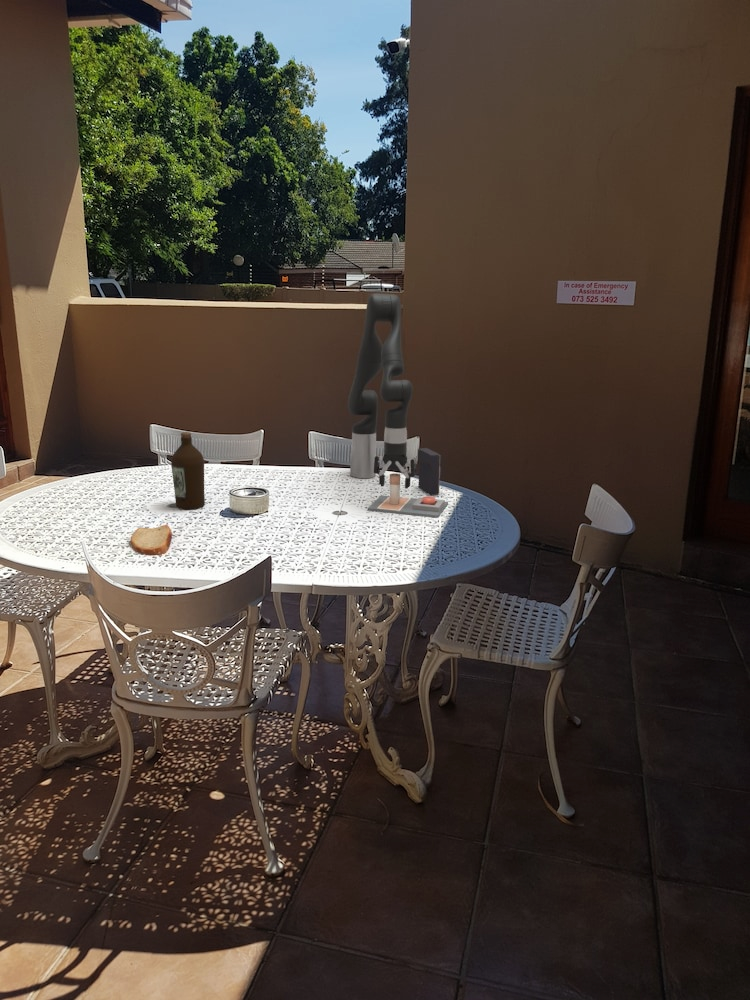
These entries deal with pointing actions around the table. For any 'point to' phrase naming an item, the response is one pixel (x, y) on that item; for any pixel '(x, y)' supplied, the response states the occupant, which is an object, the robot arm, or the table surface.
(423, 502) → the button
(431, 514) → the board
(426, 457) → the dark grey upright block
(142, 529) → the bread slice
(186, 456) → the olive oil
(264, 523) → the table surface
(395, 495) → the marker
